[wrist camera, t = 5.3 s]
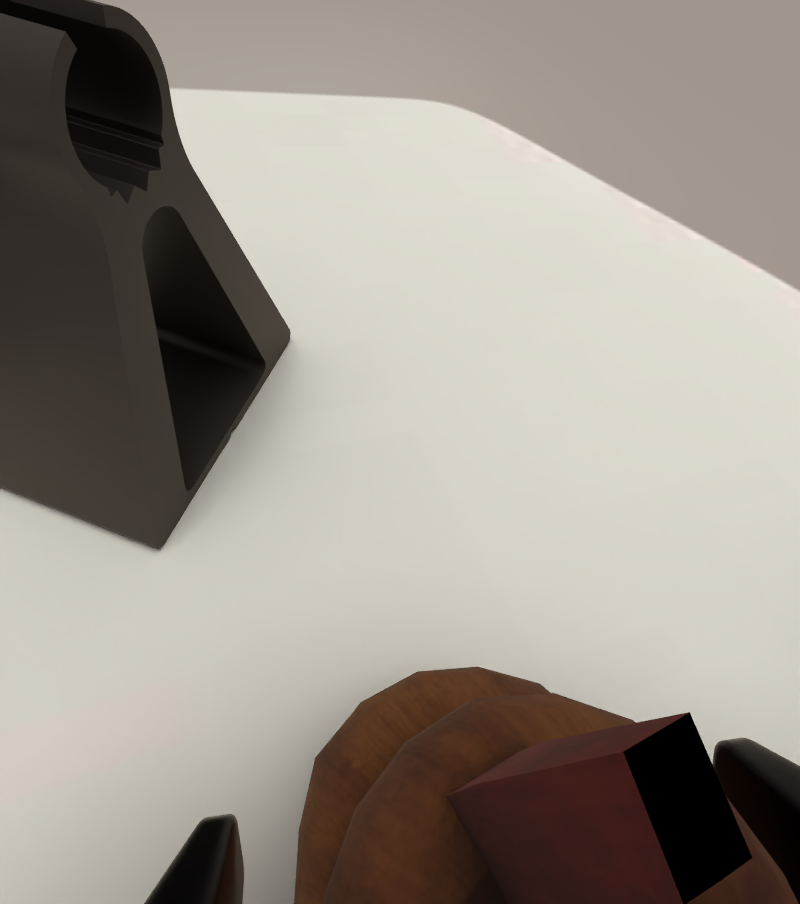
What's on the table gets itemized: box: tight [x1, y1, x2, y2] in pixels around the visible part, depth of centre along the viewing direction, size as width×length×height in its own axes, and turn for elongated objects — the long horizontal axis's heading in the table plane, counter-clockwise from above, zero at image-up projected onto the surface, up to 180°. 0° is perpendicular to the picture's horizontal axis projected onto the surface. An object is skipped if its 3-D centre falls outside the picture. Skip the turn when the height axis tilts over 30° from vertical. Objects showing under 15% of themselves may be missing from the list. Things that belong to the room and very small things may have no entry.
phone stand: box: [0, 0, 290, 549], centre depth 14 cm, size 9×6×12 cm, turn 160°
